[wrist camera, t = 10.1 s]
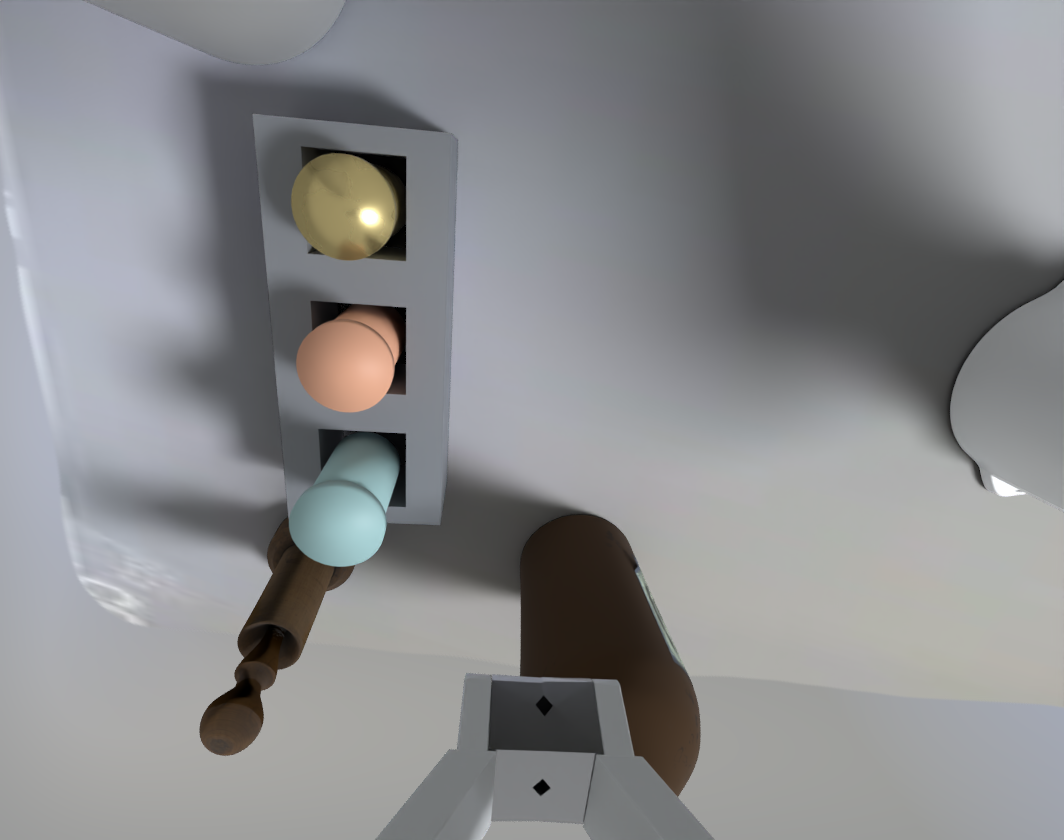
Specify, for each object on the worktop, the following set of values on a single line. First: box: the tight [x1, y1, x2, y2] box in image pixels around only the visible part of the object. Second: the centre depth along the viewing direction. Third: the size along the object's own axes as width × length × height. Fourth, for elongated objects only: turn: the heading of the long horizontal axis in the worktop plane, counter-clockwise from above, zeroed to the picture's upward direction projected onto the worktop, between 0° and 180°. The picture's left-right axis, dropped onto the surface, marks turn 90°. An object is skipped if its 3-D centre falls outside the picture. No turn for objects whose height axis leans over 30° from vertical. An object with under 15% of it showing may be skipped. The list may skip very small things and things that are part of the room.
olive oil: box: [520, 515, 700, 797], centre depth 37 cm, size 11×11×25 cm
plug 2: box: [296, 304, 406, 412], centre depth 34 cm, size 5×5×8 cm
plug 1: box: [291, 153, 406, 261], centre depth 32 cm, size 5×5×8 cm
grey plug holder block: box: [252, 114, 458, 525], centre depth 37 cm, size 10×24×6 cm, turn 175°
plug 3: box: [289, 432, 400, 567], centre depth 35 cm, size 5×5×8 cm
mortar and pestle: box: [200, 517, 355, 756], centre depth 38 cm, size 7×6×18 cm
